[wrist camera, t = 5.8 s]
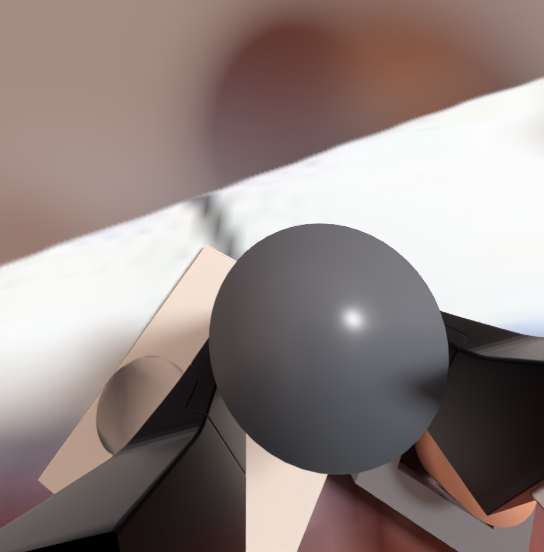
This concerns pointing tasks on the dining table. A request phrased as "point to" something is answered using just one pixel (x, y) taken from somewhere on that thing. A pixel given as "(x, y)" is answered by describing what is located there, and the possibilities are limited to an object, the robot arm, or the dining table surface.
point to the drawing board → (151, 392)
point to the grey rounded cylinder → (328, 349)
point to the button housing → (441, 511)
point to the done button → (454, 485)
